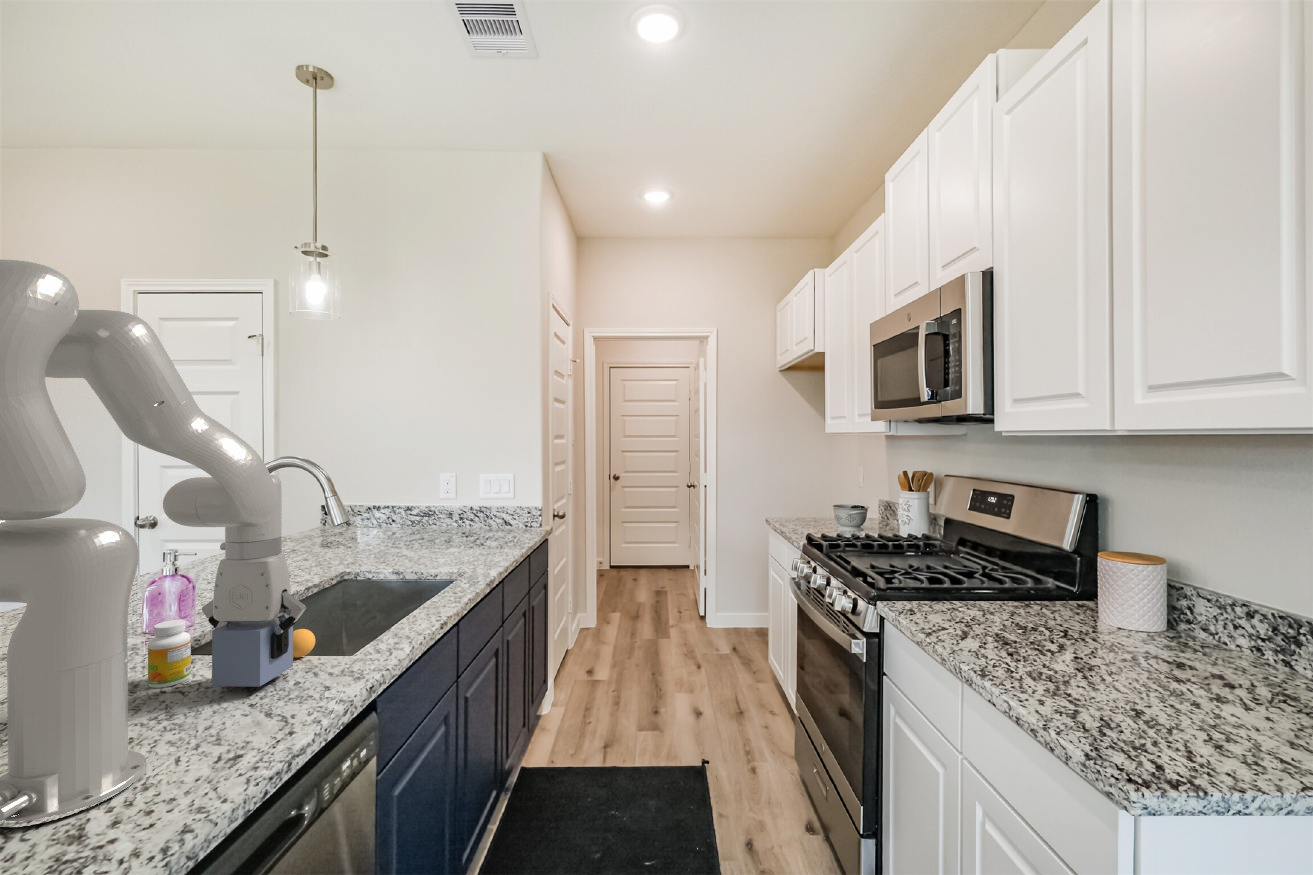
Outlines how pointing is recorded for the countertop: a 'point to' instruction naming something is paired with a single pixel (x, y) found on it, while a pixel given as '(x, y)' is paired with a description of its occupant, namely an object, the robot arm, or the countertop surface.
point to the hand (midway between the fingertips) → (254, 654)
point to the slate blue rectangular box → (246, 654)
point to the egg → (302, 642)
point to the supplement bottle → (169, 654)
